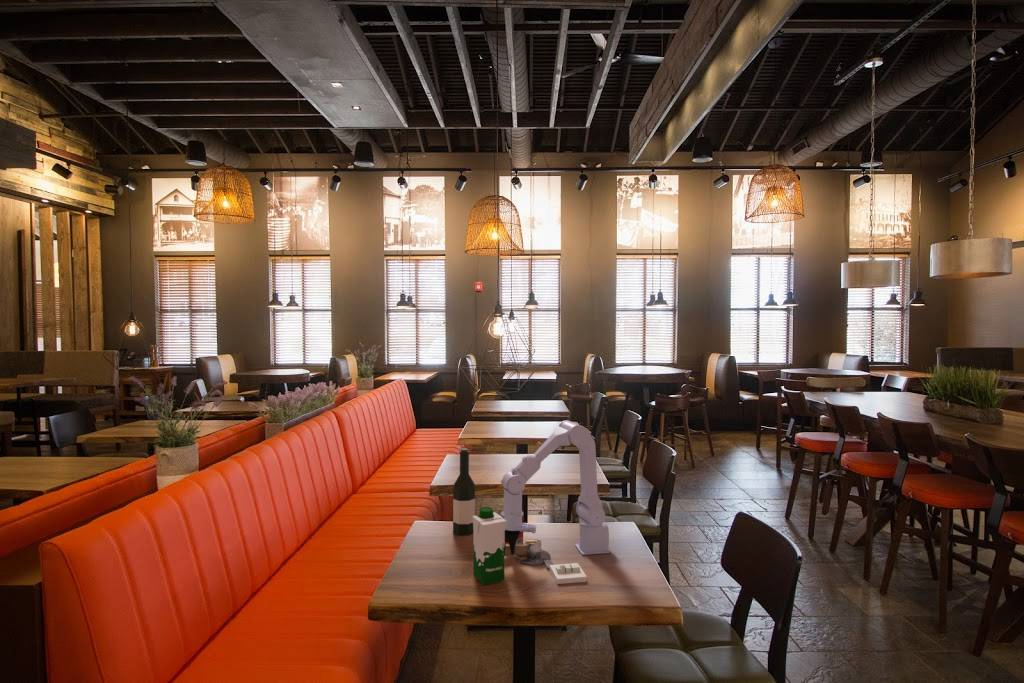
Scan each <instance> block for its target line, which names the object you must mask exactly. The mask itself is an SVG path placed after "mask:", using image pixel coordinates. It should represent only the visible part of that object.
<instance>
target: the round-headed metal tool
mask: <svg viewBox="0 0 1024 683" xmlns="http://www.w3.org/2000/svg"><path fill="white" fill-rule="evenodd" d="M541 550H542V540H540V539H537V538H528V539H527V540H525V541H524V542H523V543H518V544H516V545H515V552H514V555H513V556H516V555H526V557H528V558H531V559H534V558H540V557H541ZM506 556H512V555H511V549H510V546H509V544H504V557H506Z"/></svg>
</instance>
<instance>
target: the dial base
mask: <svg viewBox="0 0 1024 683" xmlns="http://www.w3.org/2000/svg"><path fill="white" fill-rule="evenodd" d="M515 556H516V560H517V562H519V563H520V564H523V565H526V566H534V567H535V566H542V565H544V566H545V569H546V570H547V571H550V570H549V565H554V563H553V561H552V560H551V558H552V557H551V554H550V553H549V552H548V551H547V550H544V549H541V557H540V558H534V559H531V558H528V557H526V555H515Z"/></svg>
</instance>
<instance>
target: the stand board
mask: <svg viewBox="0 0 1024 683" xmlns="http://www.w3.org/2000/svg"><path fill="white" fill-rule="evenodd" d="M548 571H549V572H550V573H551V575H552V576H551V577H553V579H554V582H555V583H556V585H562V584H563V585H564V584H573V583H574V584H576V583H585V582H587V581H588V576H587V575H586V573H585V572H584V570H583V569H582V567H581V566H580V564H579V562H574V563H560V564H553V565H549V570H548ZM587 583H588V582H587Z"/></svg>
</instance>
